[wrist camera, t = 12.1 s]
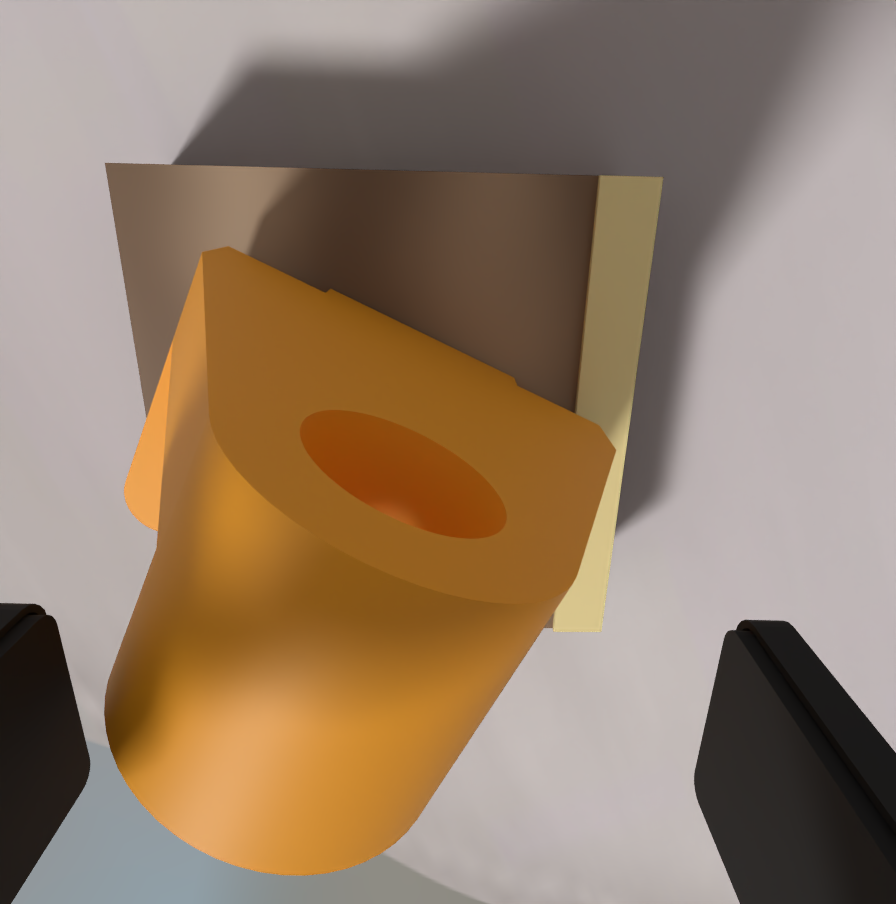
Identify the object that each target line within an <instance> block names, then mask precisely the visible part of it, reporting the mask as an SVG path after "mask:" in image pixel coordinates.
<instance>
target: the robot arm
mask: <svg viewBox="0 0 896 904" xmlns="http://www.w3.org/2000/svg"><path fill="white" fill-rule="evenodd" d="M89 771H90V757H89V753H88V749H87V745H86V741H85V737H84V733H83V729H82V724H81V720H80V716H79V712H78V708H77V704H76V700H75V696H74V692H73V687H72V683H71V679H70V675H69V671H68V667H67V663H66V659H65V655H64V650H63V646H62V642H61V638H60V634H59V630H58V626H57V623H56V620H55V619H54V618H53V617H52V616H50V615H46V612H45V610H44V609H43V608H42V607H41V606H40V605H36V604H13V603H0V904H11V903H12V901H13V899H14V898H15V896H16V895H17V893H18V892H19V890H20V888H21V887H22V885H23V884H24V882H25V881H26V879H27V877H28V876H29V874H30V873H31V871H32V869H33V868H34V866H35V865H36V863H37V861H38V860H39V858H40V857H41V855H42V854H43V852H44V850H45V849H46V847H47V846H48V844H49V843H50V841H51V839H52V838H53V836H54V835H55V833H56V832H57V830H58V828H59V827H60V825H61V823H62V822H63V820H64V819H65V817H66V816H67V814H68V812H69V811H70V809H71V808H72V806H73V805H74V803H75V801H76V800H77V798H78V797H79V795H80V793H81V792H82V790H83V788H84V787H85V785H86V782H87V779H88V776H89ZM694 785H695V792H696V796H697V800H698V803H699V805H700V808H701V810H702V813H703V815H704V817H705V820H706V822H707V825H708V827H709V830H710V832H711V834H712V837H713V839H714V842H715V844H716V846H717V849H718V851H719V854H720V856H721V859H722V861H723V863H724V866H725V868H726V871H727V873H728V876H729V878H730V880H731V883H732V885H733V888H734V890H735V892H736V895H737V897H738V900H739V902H740V904H896V753H895V751H894V750H893V749H892V748H891V747H890V745H889V744H888V743H887V742H886V740H885V739H884V738H883V737H882V735H881V734H880V733H879V732H878V731H877V729H876V728H875V727H874V726H873V724H872V723H871V722H870V721H869V719H868V718H867V717H866V716H865V714H864V713H863V712H862V711H861V710H860V708H859V707H858V706H857V705H856V703H855V702H854V701H853V700H852V698H851V697H850V696H849V695H848V694H847V692H846V691H845V690H844V689H843V687H842V686H841V685H840V684H839V682H838V681H837V680H836V679H835V678H834V676H833V675H832V674H831V673H830V671H829V670H828V669H827V668H826V666H825V665H824V664H823V663H822V661H821V660H820V659H819V658H818V657H817V655H816V654H815V653H814V652H813V650H812V649H811V648H810V647H809V645H808V644H807V643H806V642H805V641H804V639H803V638H802V637H801V636H800V634H799V633H798V632H797V631H796V629H795V628H794V627H793V626H792V625H791V624H790V623H789V622H786V621H770V620H744V621H741V622H740V623H739V625H738V626H737V629H736V630H731V631H728V632H727V633H726V635H725V638H724V641H723V646H722V650H721V655H720V660H719V664H718V669H717V673H716V678H715V682H714V687H713V691H712V696H711V700H710V705H709V709H708V714H707V719H706V723H705V728H704V732H703V737H702V741H701V746H700V750H699V755H698V759H697V764H696V768H695V775H694Z"/></svg>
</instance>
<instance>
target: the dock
mask: <svg viewBox="0 0 896 904" xmlns="http://www.w3.org/2000/svg"><path fill="white" fill-rule="evenodd" d="M105 166H106V172H107V178H108V185H109V191H110V197H111V203H112V209H113V215H114V221H115V227H116V234H117V240H118V246H119V252H120V258H121V264H122V270H123V276H124V283H125V289H126V295H127V301H128V307H129V313H130V319H131V326H132V332H133V338H134V344H135V350H136V356H137V362H138V368H139V375H140V381H141V387H142V393H143V399H144V405H145V411H146V417H147V416H148V413H149V410H150V407H151V404H152V401H153V398H154V395H155V392H156V389H157V386H158V383H159V380H160V377H161V374H162V371H163V368H164V365H165V362H166V359H167V356H168V353H169V350H170V347H171V344H172V341H173V338H174V335H175V332H176V329H177V326H178V323H179V320H180V317H181V314H182V311H183V308H184V305H185V302H186V299H187V296H188V293H189V290H190V287H191V284H192V281H193V278H194V275H195V272H196V269H197V266H198V263H199V260H200V257H201V254H202V252H204V251H208V250H213V249H218V248H222V247H227V246H229V247H231V248H234V249H236V250H238V251H240V252H242V253H244V254H246V255H248V256H250V257H252V258H254V259H256V260H258V261H260V262H262V263H265V264H267V265H269V266H271V267H273V268H275V269H277V270H279V271H281V272H283V273H285V274H287V275H289V276H291V277H294V278H296V279H298V280H300V281H302V282H304V283H306V284H308V285H310V286H312V287H314V288H316V289H318V290H320V291H322V292H325V293H326V292H327V291H328V290H330V289H333V290H335V291H337V292H339V293H341V294H343V295H345V296H347V297H349V298H351V299H353V300H355V301H357V302H359V303H361V304H363V305H365V306H368V307H370V308H372V309H374V310H376V311H378V312H380V313H382V314H384V315H386V316H388V317H390V318H392V319H394V320H396V321H398V322H401V323H403V324H405V325H407V326H409V327H411V328H413V329H415V330H417V331H419V332H421V333H423V334H425V335H427V336H429V337H431V338H433V339H436V340H438V341H440V342H442V343H444V344H446V345H448V346H450V347H452V348H454V349H456V350H458V351H460V352H462V353H464V354H466V355H469V356H471V357H473V358H475V359H477V360H479V361H481V362H483V363H485V364H487V365H489V366H491V367H493V368H495V369H497V370H499V371H501V372H504V373H506V374H508V375H510V376H512V377H514V378H515V381H516V383H517V386H519V387H521V388H523V389H525V390H527V391H529V392H531V393H534V394H536V395H538V396H540V397H542V398H544V399H546V400H548V401H550V402H552V403H554V404H556V405H558V406H560V407H563V408H565V409H567V410H569V411H571V412H573V413H575V414H577V415H579V416H581V417H583V418H585V419H587V420H589V421H591V422H594V423H596V424H598V425H599V426H600V427H601V429H602V430H603V431H604V433H605V434H606V436H607V437H608V439H609V440H610V442H611V443H612V444H613V446H614V447H615V449H616V453H615V456H614V459H613V462H612V466H611V469H610V472H609V475H608V478H607V482H606V485H605V488H604V491H603V495H602V498H601V501H600V504H599V507H598V511H597V514H596V517H595V520H594V523H593V527H592V530H591V533H590V536H589V540H588V543H587V546H586V549H585V552H584V556H583V559H582V562H581V565H580V568H579V572H578V575H577V577H576V579H575V581H574V583H573V584H572V586H571V587H570V589H569V590H568V592H567V593H566V595H565V596H564V598H563V599H562V601H561V602H560V604H559V605H558V607H557V608H556V610H555V612H554V613H553V615H552V616H551V618H550V619H549V621H548V622H547V624H546V625H545V627H544V628H553V631H554V632H601V629H602V622H603V614H604V607H605V600H606V592H607V585H608V578H609V571H610V563H611V556H612V549H613V541H614V534H615V527H616V520H617V512H618V505H619V498H620V490H621V483H622V476H623V469H624V461H625V454H626V447H627V439H628V432H629V425H630V417H631V410H632V403H633V396H634V388H635V381H636V374H637V366H638V359H639V352H640V345H641V337H642V330H643V323H644V315H645V308H646V301H647V294H648V286H649V279H650V272H651V264H652V257H653V250H654V243H655V235H656V228H657V221H658V213H659V206H660V199H661V191H662V184H663V177H643V176H604V175H600V176H592V175H553V174H514V173H476V172H437V171H398V170H359V169H320V168H282V167H243V166H204V165H165V164H127V163H105Z"/></svg>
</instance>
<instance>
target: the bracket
mask: <svg viewBox="0 0 896 904" xmlns="http://www.w3.org/2000/svg"><path fill="white" fill-rule="evenodd" d="M615 453H616V449H615V447H614V446H613V444H612V443H611V442H610V440H609V439H608V437H607V436H606V434H605V433H604V431H603V430H602V429H601V427H600V426H599V425H598V424H596V423H594V422H591V421H589V420H587V419H585V418H583V417H581V416H579V415H577V414H575V413H573V412H571V411H569V410H567V409H565V408H563V407H560V406H558V405H556V404H554V403H552V402H550V401H548V400H546V399H544V398H542V397H540V396H538V395H536V394H534V393H531V392H529V391H527V390H525V389H523V388H521V387H519V386H517V383H516V381H515V378H514V377H512V376H510V375H508V374H506V373H504V372H501V371H499V370H497V369H495V368H493V367H491V366H489V365H487V364H485V363H483V362H481V361H479V360H477V359H475V358H473V357H471V356H469V355H466V354H464V353H462V352H460V351H458V350H456V349H454V348H452V347H450V346H448V345H446V344H444V343H442V342H440V341H438V340H436V339H433V338H431V337H429V336H427V335H425V334H423V333H421V332H419V331H417V330H415V329H413V328H411V327H409V326H407V325H405V324H403V323H401V322H398V321H396V320H394V319H392V318H390V317H388V316H386V315H384V314H382V313H380V312H378V311H376V310H374V309H372V308H370V307H368V306H365V305H363V304H361V303H359V302H357V301H355V300H353V299H351V298H349V297H347V296H345V295H343V294H341V293H339V292H337V291H335V290H333V289H330V290H328V291H327V292H326V293H325V292H322V291H320V290H318V289H316V288H314V287H312V286H310V285H308V284H306V283H304V282H302V281H300V280H298V279H296V278H294V277H291V276H289V275H287V274H285V273H283V272H281V271H279V270H277V269H275V268H273V267H271V266H269V265H267V264H265V263H262V262H260V261H258V260H256V259H254V258H252V257H250V256H248V255H246V254H244V253H242V252H240V251H238V250H236V249H234V248H231V247H229V246H227V247H222V248H218V249H213V250H208V251H204V252H202V254H201V257H200V260H199V263H198V266H197V269H196V272H195V275H194V278H193V281H192V284H191V287H190V290H189V293H188V296H187V299H186V302H185V305H184V308H183V311H182V314H181V317H180V320H179V323H178V326H177V329H176V332H175V335H174V338H173V341H172V344H171V347H170V350H169V353H168V356H167V359H166V362H165V365H164V368H163V371H162V374H161V377H160V380H159V383H158V386H157V389H156V392H155V395H154V398H153V401H152V404H151V407H150V410H149V413H148V416H147V419H146V422H145V425H144V428H143V431H142V434H141V437H140V440H139V443H138V446H137V449H136V452H135V455H134V458H133V461H132V464H131V467H130V470H129V473H128V476H127V479H126V482H125V487H124V495H125V500H126V503H127V506H128V508H129V509H130V511H131V513H132V514H133V515H134V516H135V517H136V518H137V519H138V520H139V521H140V522H141V523H142V524H144V525H145V526H147V527H149V528H151V529H153V530H156V531H158V536H157V549H156V551H155V554H154V557H153V560H152V562H151V565H150V568H149V570H148V573H147V576H146V579H145V581H144V584H143V587H142V589H141V592H140V595H139V598H138V600H137V603H136V606H135V609H134V611H133V614H132V617H131V619H130V622H129V625H128V628H127V630H126V633H125V636H124V638H123V641H122V644H121V647H120V649H119V652H118V655H117V657H116V660H115V663H114V666H113V668H112V671H111V674H110V677H109V680H108V684H107V690H106V695H105V711H104V715H105V725H106V733H107V737H108V741H109V745H110V749H111V752H112V754H113V756H114V759H115V762H116V764H117V767H118V769H119V771H120V772H121V774H122V776H123V778H124V780H125V781H126V783H127V785H128V786H129V788H130V789H131V790H132V792H133V793H134V794H135V796H136V797H137V799H138V800H139V801H140V803H141V804H142V805H143V806H144V807H145V808H146V809H147V810H148V811H149V812H150V813H151V814H152V816H154V818H155V819H156V820H157V821H159V822H160V823H161V824H162V825H163V826H165V827H166V828H167V829H168V830H170V831H171V832H172V833H173V834H174V835H176V836H178V837H179V838H180V839H182V840H183V841H185V842H187V843H188V844H189V845H191V846H193V847H194V848H196V849H198V850H200V851H202V852H204V853H207V854H208V855H210V856H212V857H214V858H216V859H219V860H222V861H224V862H227V863H230V864H232V865H235V866H238V867H242V868H246V869H250V870H254V871H258V872H263V873H271V874H279V875H314V874H324V873H330V872H334V871H338V870H343V869H347V868H349V867H352V866H355V865H357V864H360V863H363V862H365V861H367V860H369V859H371V858H373V857H375V856H377V855H379V854H381V853H382V852H384V851H385V850H386V849H388V848H389V847H391V846H392V845H393V844H395V843H396V842H397V841H398V840H399V839H400V838H401V837H402V836H403V835H404V834H405V833H406V832H407V831H408V830H409V829H410V828H411V826H412V825H413V824H414V823H415V821H416V820H417V819H418V817H419V816H420V814H421V813H422V811H423V809H424V808H425V806H426V805H427V803H428V802H429V800H430V799H431V797H432V796H433V794H434V793H435V791H436V790H437V788H438V787H439V785H440V784H441V782H442V781H443V779H444V778H445V776H446V775H447V773H448V772H449V770H450V769H451V767H452V766H453V764H454V763H455V761H456V760H457V758H458V757H459V755H460V754H461V752H462V751H463V749H464V748H465V746H466V745H467V743H468V741H469V740H470V738H471V737H472V735H473V734H474V732H475V731H476V729H477V728H478V726H479V725H480V723H481V722H482V720H483V719H484V717H485V716H486V714H487V713H488V711H489V710H490V708H491V707H492V705H493V704H494V702H495V701H496V699H497V698H498V696H499V695H500V693H501V692H502V690H503V689H504V687H505V686H506V684H507V683H508V681H509V680H510V678H511V677H512V675H513V673H514V672H515V670H516V669H517V667H518V666H519V664H520V663H521V661H522V660H523V658H524V657H525V655H526V654H527V652H528V651H529V649H530V648H531V646H532V645H533V643H534V642H535V640H536V639H537V637H538V636H539V634H540V633H541V631H542V630H543V628H544V627H545V625H546V624H547V622H548V621H549V619H550V618H551V616H552V615H553V613H554V612H555V610H556V608H557V607H558V605H559V604H560V602H561V601H562V599H563V598H564V596H565V595H566V593H567V592H568V590H569V589H570V587H571V586H572V584H573V583H574V581H575V579H576V577H577V575H578V572H579V568H580V565H581V562H582V559H583V556H584V552H585V549H586V546H587V543H588V540H589V536H590V533H591V530H592V527H593V523H594V520H595V517H596V514H597V511H598V507H599V504H600V501H601V498H602V495H603V491H604V488H605V485H606V482H607V478H608V475H609V472H610V469H611V466H612V462H613V459H614V456H615Z"/></svg>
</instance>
